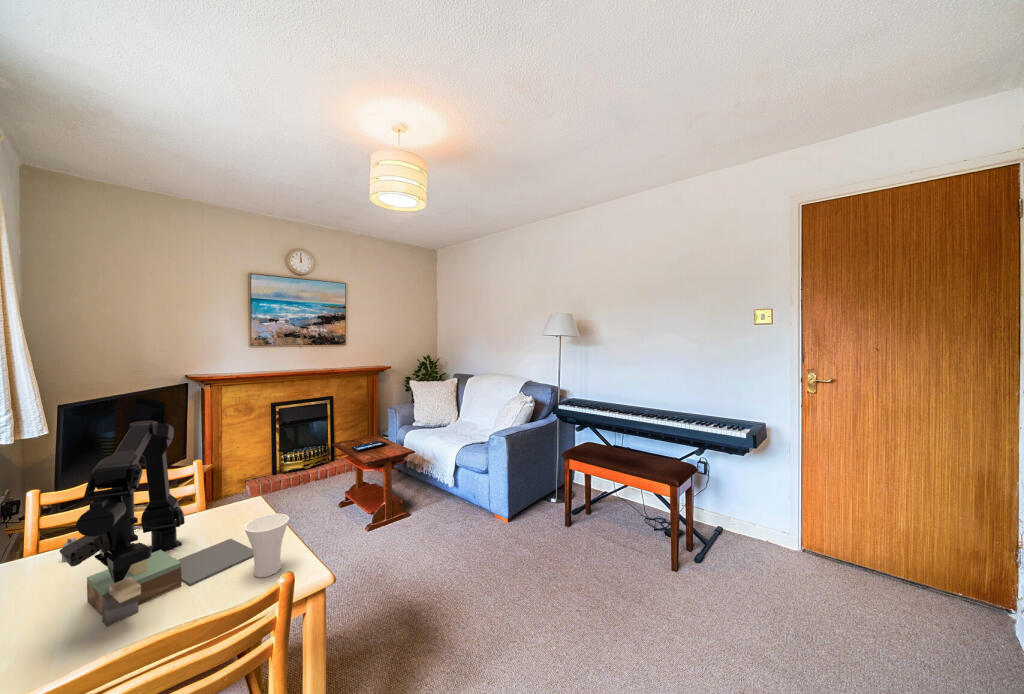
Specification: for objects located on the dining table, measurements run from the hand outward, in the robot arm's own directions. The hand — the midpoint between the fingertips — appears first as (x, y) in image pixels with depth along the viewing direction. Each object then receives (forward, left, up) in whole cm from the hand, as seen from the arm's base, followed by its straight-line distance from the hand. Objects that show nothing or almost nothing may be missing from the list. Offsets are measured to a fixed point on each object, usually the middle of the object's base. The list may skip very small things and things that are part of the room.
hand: (117, 583), depth 90 cm
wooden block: (+4, 0, -1) cm, 4 cm away
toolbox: (-5, +5, -8) cm, 10 cm away
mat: (-7, +22, -8) cm, 24 cm away
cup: (+12, +27, -8) cm, 30 cm away
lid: (-7, +5, -3) cm, 9 cm away
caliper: (-46, +10, -8) cm, 48 cm away
